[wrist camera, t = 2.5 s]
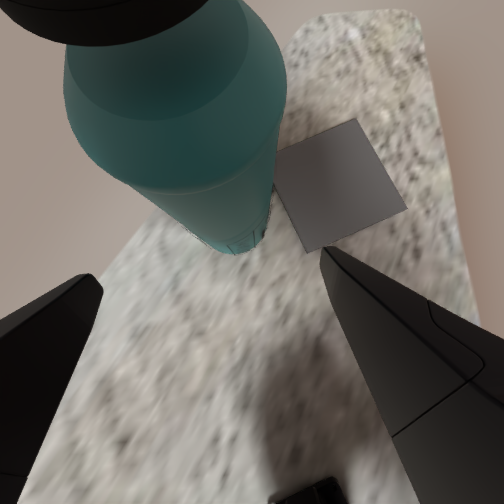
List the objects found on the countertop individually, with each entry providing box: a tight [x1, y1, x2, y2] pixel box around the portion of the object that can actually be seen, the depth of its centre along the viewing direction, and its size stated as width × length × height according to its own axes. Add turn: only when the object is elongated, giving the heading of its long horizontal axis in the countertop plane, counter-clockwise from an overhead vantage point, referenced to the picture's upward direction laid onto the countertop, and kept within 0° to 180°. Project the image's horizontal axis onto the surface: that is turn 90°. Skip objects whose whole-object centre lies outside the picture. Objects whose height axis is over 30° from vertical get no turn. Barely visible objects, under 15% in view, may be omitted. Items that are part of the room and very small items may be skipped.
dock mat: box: [273, 119, 408, 253], centre depth 21 cm, size 11×11×1 cm
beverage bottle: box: [0, 0, 287, 255], centre depth 11 cm, size 6×7×20 cm
